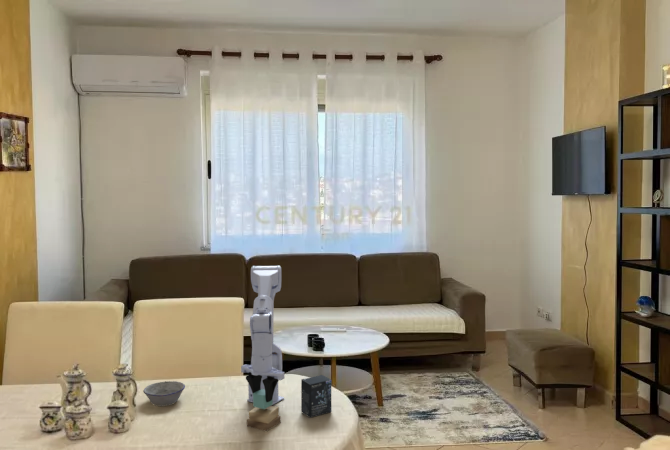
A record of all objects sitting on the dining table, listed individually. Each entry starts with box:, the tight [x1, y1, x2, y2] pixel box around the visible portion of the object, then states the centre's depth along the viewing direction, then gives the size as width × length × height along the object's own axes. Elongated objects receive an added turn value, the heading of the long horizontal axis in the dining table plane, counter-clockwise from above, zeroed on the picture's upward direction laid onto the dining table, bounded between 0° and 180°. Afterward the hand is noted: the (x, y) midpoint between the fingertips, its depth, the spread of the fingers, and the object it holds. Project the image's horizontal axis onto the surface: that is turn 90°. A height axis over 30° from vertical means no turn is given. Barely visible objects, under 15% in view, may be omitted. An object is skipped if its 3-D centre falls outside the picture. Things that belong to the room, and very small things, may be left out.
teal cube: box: [252, 389, 274, 409], centre depth 169 cm, size 4×4×4 cm
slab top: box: [248, 405, 280, 423], centre depth 170 cm, size 6×6×2 cm
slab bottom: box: [246, 415, 281, 432], centre depth 170 cm, size 7×7×2 cm
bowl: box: [142, 380, 186, 407], centre depth 188 cm, size 13×13×5 cm
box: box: [300, 374, 332, 418], centre depth 178 cm, size 8×6×11 cm
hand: (262, 399), depth 169 cm, fingers closed on teal cube, 4 cm apart
